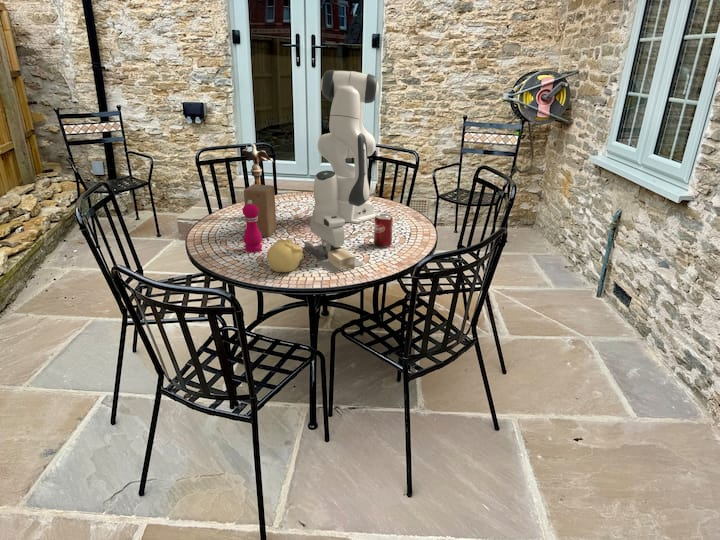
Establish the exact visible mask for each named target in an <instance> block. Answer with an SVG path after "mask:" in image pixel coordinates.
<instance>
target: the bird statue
mask: <svg viewBox="0 0 720 540" xmlns="http://www.w3.org/2000/svg"><path fill="white" fill-rule="evenodd" d="M250 146H251V150H248V149H249V147H248V145H246V147H244V149H242V150H241V152H242V154H243V155H244V156H245V157H246V158H247V160H248V162H250V161H251V160H252V163H253V164H252V165H251V169H250V172H251V176H252V177H253V179H254V184H257V185H261V180H260V179H261V176H262V171H263V169H262V168H261V167H260V165H259V164H260V162H267V163H268V162H269V161H270V162H272V163H273V164H274V163H275V162H274V159H273V158H271V157H269V155H268V154H267V152H266V150H264V149H263V150H260V151H258V150H257V148H256V144H255V143H253V142H250Z"/></svg>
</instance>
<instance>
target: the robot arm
mask: <svg viewBox="0 0 720 540" xmlns="http://www.w3.org/2000/svg"><path fill="white" fill-rule="evenodd" d="M320 89H321V93H322V95H323V96H324V98H325V99H328V101H329V102H332V103H331V107H330V112H329V121H328V127H329V132H328V133H324V134H321V135H320V137H319V138H318V141H317V150H318V153H319V154H320V156H322V157H323V158H324V159H326V160H327V162H328V163H329V164H330V166H331V168H332V170H321V171H319V172H317V173H316V174H315V176H314V183H313V199H314V206H313V211H312V215H311V216H310V224H309V227H310V228H309V229H310V231H311V233H312V234H314V235H315V236H317V237H318V238H320V241H321V245H323V249H324V250H325V251H327V252H328V251H330V250H331V249H330V247H331V245H332V246H334V247H343V245H344V244H345V227H344V226H345V225H346V223H351V224H360V223H362V222H366V221H369V220H372V219H375V216H376V215H378V214H379V213H378V212H377V211H375V209H374V205H373V203H372V202H371V201H370V200H369V199H370V192H371V191H370V190H371V188H370V182H369V181H370V180H369V169H368V168H369V166H368V165H369V164H368V157H370V156H372V155H373V154H374V153H375V150H376V147H377V144H376V140H375V139H376V138H375V137H374V135H373V134H371V133H370V132H368V130H366V128H365V126H364V123H363V117H364V115H363V112H364V104H371V103H373V102H374V101H376V98H377V97H378V95H379V91H380V85H379V82H378V78H377V77H376V75H373V74H370V73H368V74H367V73H363V72H358V71H354V70H351V71H349V70H335V69H330V70H329V69H328V70H325V72H324V73H323V76H322V78H321V81H320ZM352 158H353V160H354V165H353V166H352V165H351V164H349V163H347V162H346V159H352Z"/></svg>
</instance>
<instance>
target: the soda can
mask: <svg viewBox="0 0 720 540" xmlns="http://www.w3.org/2000/svg"><path fill="white" fill-rule="evenodd" d="M393 220H394V217H393V216H392V215H391V214H387V213H378V215H376V216H375V218H374V227H373V244H374V246H376V247H378V248H388V247H391V246H392V244H393V242H392V241H393V227H394V225H393V224H394V221H393Z"/></svg>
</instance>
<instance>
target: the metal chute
mask: <svg viewBox="0 0 720 540" xmlns="http://www.w3.org/2000/svg"><path fill="white" fill-rule="evenodd" d="M303 243H304V249H305V250H307V251H308V252H309V253H310V254H312V255H313V256H314V257H316V258H318V259H319V260H320V261H323V260H328V252H327V251H325V250H324V249H323V245H322V244H318V245H313V244H312V243H310V242H308V241H305V242H303ZM330 249H331V250H330V251H332V250H337V249H344V248H343V247H342V246H340V247H334V246H332V245H331V247H330Z"/></svg>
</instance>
